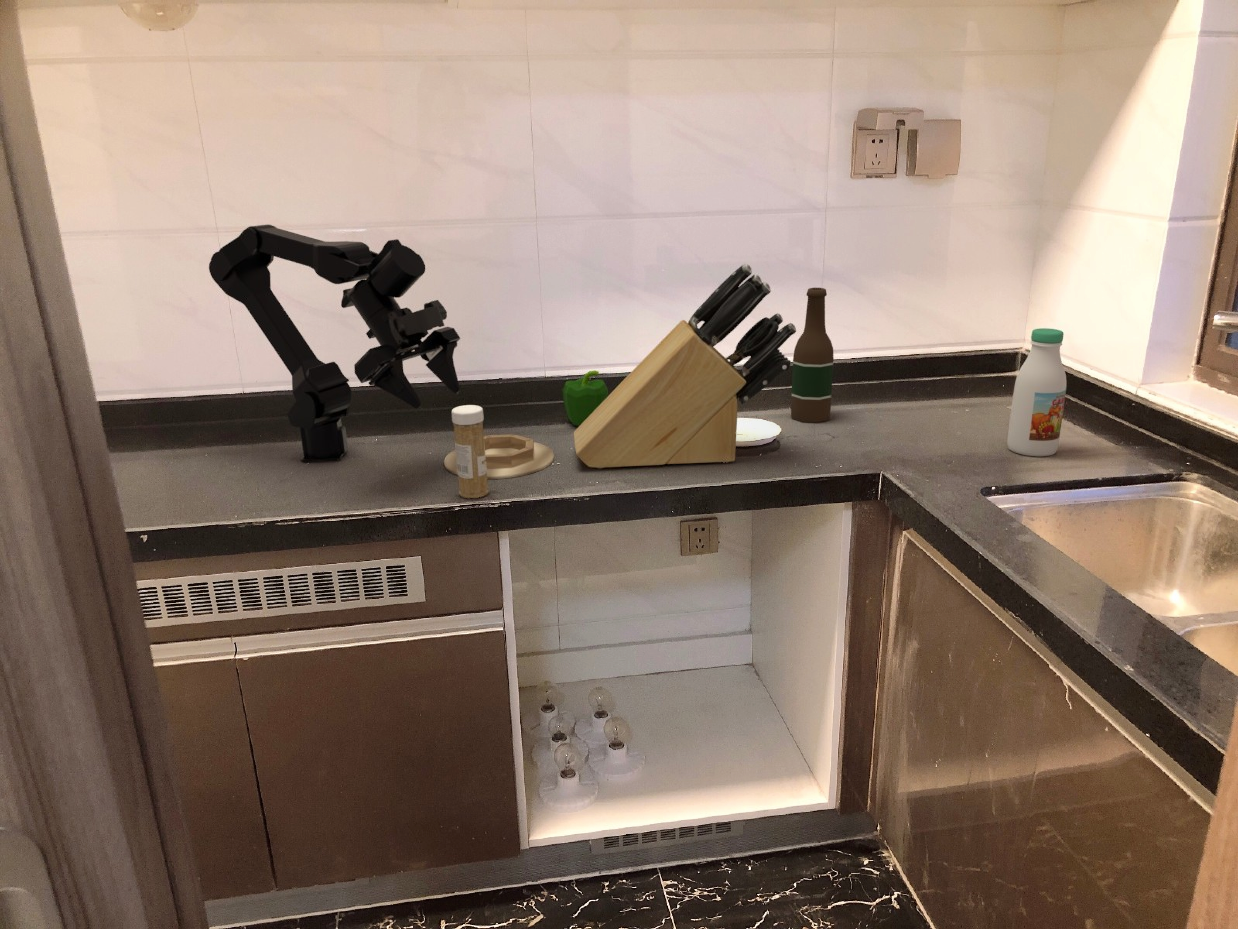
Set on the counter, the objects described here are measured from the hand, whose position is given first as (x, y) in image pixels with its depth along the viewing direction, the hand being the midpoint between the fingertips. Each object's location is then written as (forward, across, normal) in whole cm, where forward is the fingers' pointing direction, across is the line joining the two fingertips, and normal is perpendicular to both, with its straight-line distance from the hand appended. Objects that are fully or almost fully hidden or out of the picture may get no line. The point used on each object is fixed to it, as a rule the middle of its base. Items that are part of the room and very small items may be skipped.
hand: (439, 399), depth 140 cm
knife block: (+28, +26, -14) cm, 41 cm away
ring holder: (+12, +11, +6) cm, 17 cm away
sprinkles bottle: (+15, -3, +2) cm, 16 cm away
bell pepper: (+13, +35, +4) cm, 38 cm away
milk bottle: (+60, +53, -54) cm, 97 cm away
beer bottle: (+36, +56, -24) cm, 71 cm away
